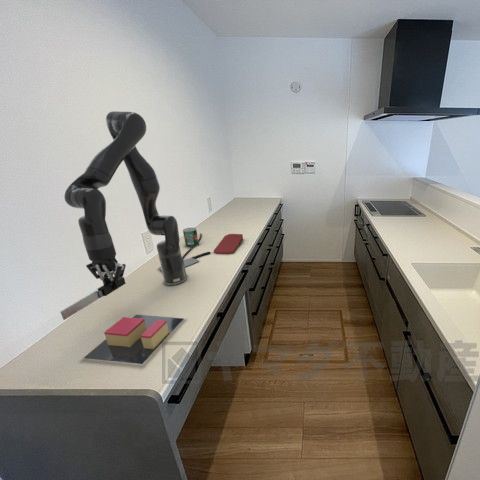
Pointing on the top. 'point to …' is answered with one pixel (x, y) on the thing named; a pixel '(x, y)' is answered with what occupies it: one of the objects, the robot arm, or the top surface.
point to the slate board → (136, 350)
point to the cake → (125, 332)
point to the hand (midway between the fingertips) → (112, 288)
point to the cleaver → (191, 260)
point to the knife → (90, 299)
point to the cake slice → (154, 334)
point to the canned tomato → (190, 237)
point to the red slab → (228, 244)
